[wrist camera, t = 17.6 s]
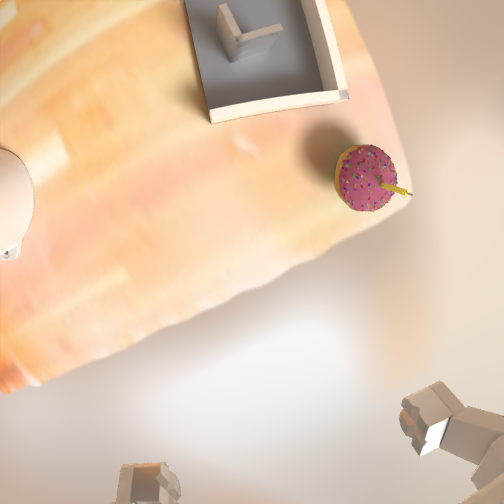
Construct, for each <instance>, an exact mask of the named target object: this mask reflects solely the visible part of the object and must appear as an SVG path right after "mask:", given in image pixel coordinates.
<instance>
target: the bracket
mask: <svg viewBox="0 0 504 504" xmlns="http://www.w3.org/2000/svg"><path fill="white" fill-rule="evenodd" d="M282 31H283V28H282V26H281V24H276V25H272V26H269V27H265V28H261V29H258V30H255V31H251V32H248V33H245V34H241V32H240V29H239V27H238V25H237V23H236V21H235V19H234V17H233V15H232V13H231V11H230V10H229V8H228V6H227V4H226V3H224V4H221V5H219V7H218V16H217V25H216V32H217V34H218V36H219V38H220V40H221V43H222V45H223V47H224V49H225V51H226V53H227V55H228V57H229V60H230V62H231V63H233V62H236V61H238V60H241V59H244V58H247V57H250V56H253V55H256V54H260V53H263V52H266V51H269V49H270V48H271V46H272V45H273V44H274V42H275V41H276V39H277V38H278V36H279V35H280V34H281V32H282Z"/></svg>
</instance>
